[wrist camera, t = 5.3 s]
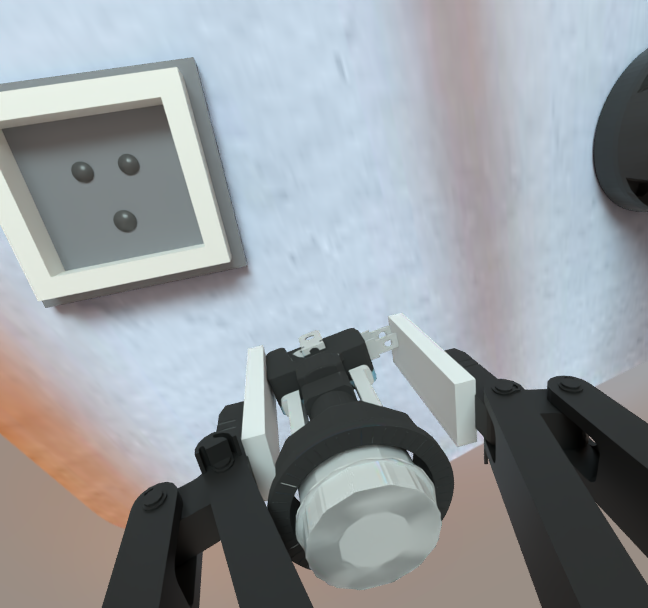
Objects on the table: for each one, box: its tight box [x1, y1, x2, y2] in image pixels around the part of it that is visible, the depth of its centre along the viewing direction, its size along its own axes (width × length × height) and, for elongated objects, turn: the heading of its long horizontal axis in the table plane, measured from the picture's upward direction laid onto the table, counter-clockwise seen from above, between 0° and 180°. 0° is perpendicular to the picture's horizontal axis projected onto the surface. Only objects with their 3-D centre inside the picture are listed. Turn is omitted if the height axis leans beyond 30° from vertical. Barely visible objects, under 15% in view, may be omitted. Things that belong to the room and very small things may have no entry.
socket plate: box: [0, 57, 247, 308], centre depth 25 cm, size 16×15×3 cm
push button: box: [266, 326, 454, 590], centre depth 13 cm, size 7×5×10 cm
